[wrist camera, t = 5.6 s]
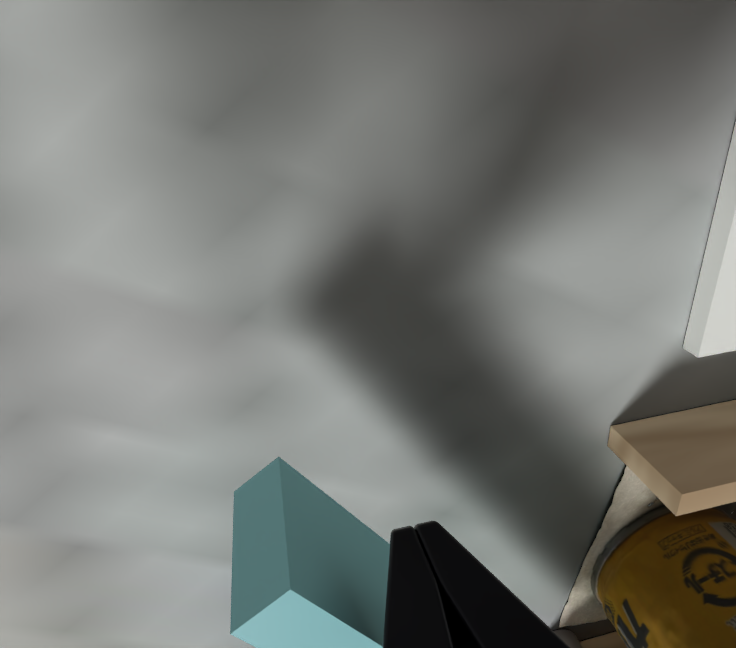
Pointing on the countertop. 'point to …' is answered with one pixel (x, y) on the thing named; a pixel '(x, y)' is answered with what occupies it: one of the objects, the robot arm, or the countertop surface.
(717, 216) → the mat
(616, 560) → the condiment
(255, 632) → the bar
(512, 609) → the robot arm
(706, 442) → the holder
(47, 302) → the countertop surface
